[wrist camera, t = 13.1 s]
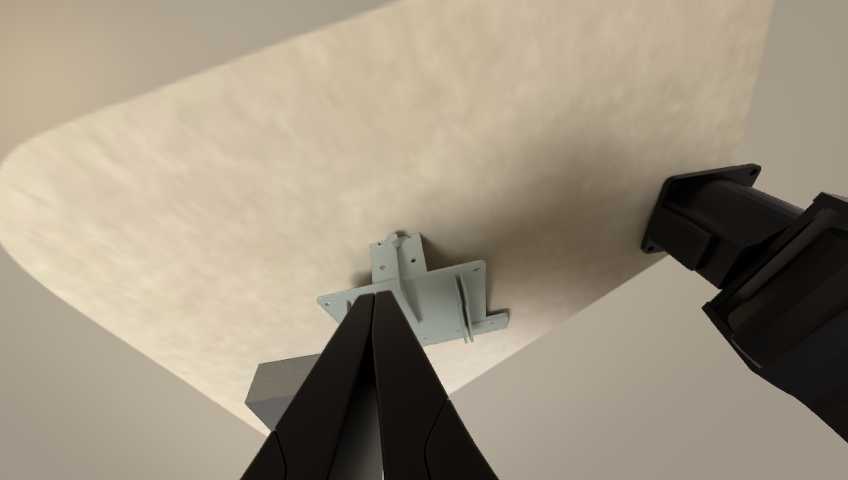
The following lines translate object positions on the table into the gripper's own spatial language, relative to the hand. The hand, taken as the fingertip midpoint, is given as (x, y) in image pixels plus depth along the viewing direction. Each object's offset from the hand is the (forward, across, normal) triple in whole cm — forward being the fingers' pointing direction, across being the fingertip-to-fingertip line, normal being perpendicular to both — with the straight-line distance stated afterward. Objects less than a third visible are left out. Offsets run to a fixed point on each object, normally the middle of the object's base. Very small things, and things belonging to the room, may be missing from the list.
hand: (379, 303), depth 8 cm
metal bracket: (+13, 0, +13) cm, 18 cm away
